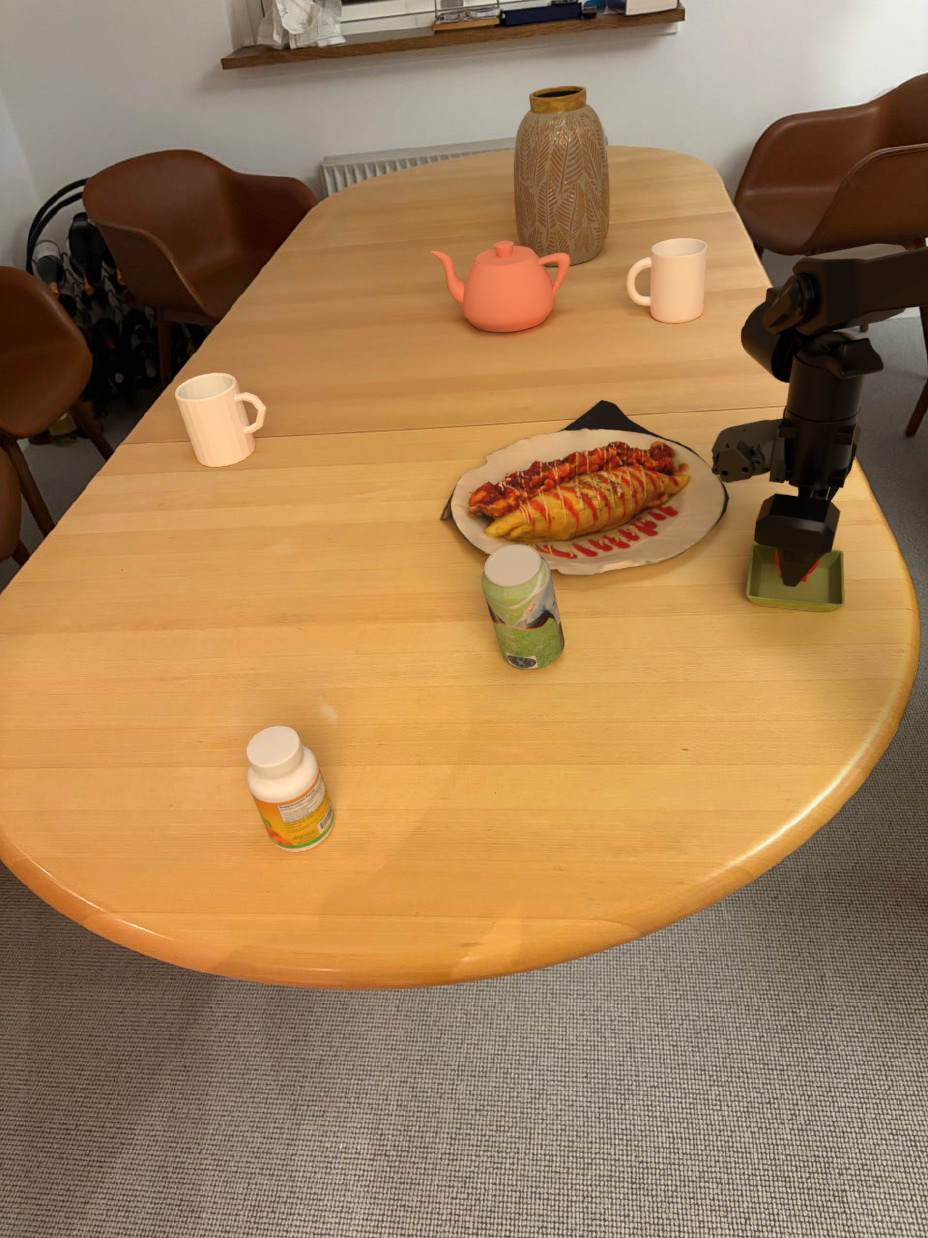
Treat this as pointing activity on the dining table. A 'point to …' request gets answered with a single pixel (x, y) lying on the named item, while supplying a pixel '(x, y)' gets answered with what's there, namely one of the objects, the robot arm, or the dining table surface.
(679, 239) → the mug
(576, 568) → the omelette plate
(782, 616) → the dining table surface
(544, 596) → the beverage can
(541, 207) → the vase
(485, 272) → the teapot
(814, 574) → the green shallow tray
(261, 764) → the supplement bottle
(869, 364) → the robot arm
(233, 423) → the mug
